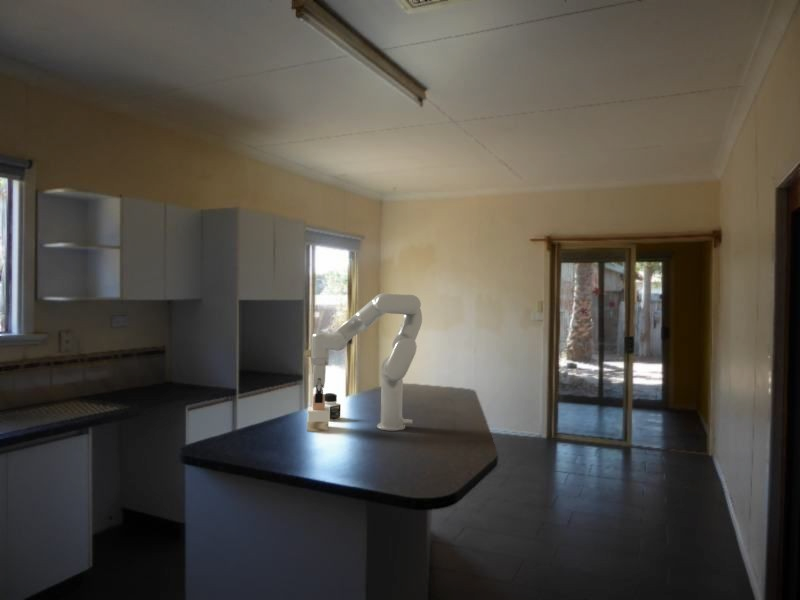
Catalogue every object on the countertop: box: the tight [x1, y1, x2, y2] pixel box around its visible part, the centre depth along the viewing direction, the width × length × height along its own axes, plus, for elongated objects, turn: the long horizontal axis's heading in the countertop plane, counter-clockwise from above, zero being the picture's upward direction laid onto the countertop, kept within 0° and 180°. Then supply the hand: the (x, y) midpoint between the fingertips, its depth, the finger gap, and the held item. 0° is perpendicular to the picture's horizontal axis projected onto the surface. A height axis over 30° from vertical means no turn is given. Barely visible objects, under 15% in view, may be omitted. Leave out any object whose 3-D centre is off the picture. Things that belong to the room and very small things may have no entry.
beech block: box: [306, 419, 329, 433], centre depth 245 cm, size 9×9×4 cm
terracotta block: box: [312, 393, 326, 410], centre depth 245 cm, size 5×5×6 cm
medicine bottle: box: [325, 392, 341, 422], centre depth 264 cm, size 7×7×12 cm
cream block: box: [307, 406, 330, 423], centre depth 245 cm, size 9×9×4 cm
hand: (319, 400), depth 245 cm, fingers open, 9 cm apart
